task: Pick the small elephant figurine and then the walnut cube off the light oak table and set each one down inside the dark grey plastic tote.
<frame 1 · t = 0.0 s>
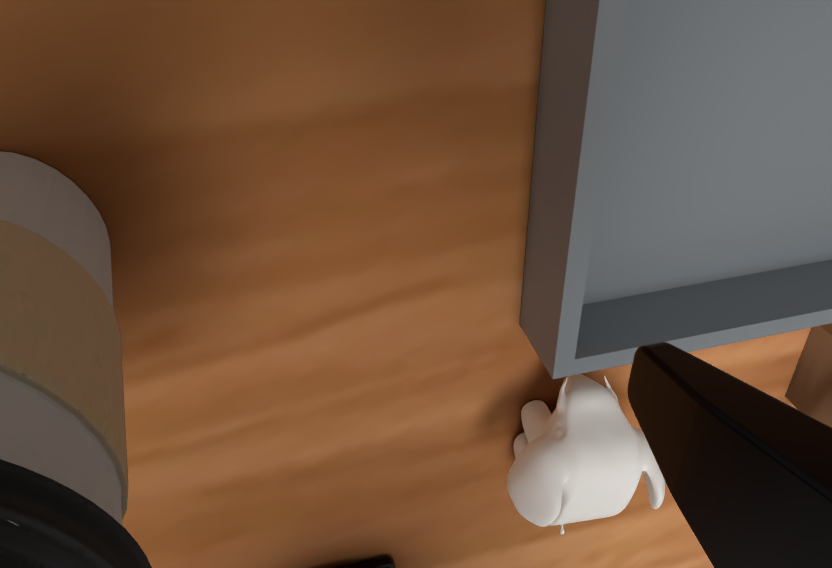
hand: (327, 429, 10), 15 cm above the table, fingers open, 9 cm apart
coffee cup: (11, 233, 22), on the table
elephant figurine: (546, 409, 34), on the table
tote: (796, 127, 27), on the table
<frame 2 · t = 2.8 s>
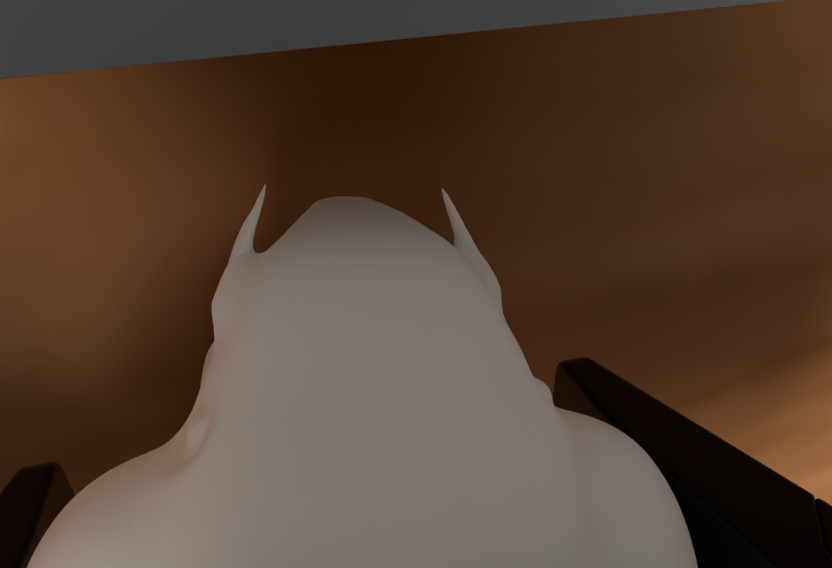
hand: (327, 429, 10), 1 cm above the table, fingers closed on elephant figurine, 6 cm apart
elephant figurine: (314, 360, 11), on the table, touching gripper
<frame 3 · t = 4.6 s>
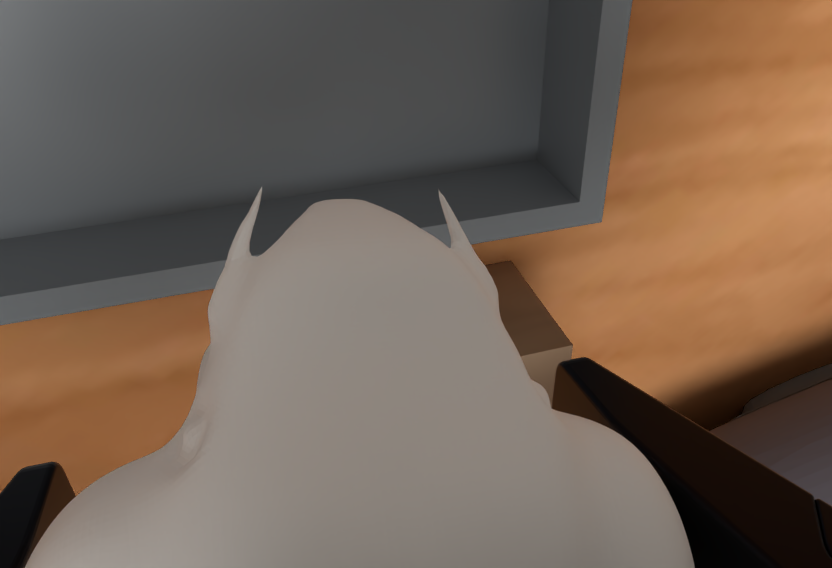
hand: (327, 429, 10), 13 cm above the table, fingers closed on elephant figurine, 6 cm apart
walnut cube: (443, 328, 26), on the table
elephant figurine: (311, 362, 11), point 11 cm above the table, touching gripper
bluetooth speaker: (831, 378, 35), on the table
when the fingers open (4 cm above the table, at t = 6.7 s): elephant figurine drops 2 cm, resting on tote.
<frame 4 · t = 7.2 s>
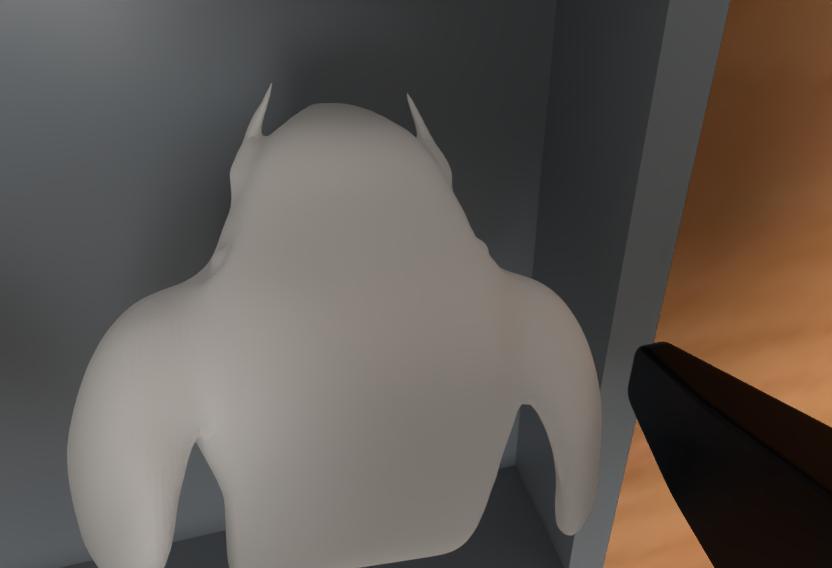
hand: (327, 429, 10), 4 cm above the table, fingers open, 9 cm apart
elephant figurine: (308, 264, 13), resting on tote
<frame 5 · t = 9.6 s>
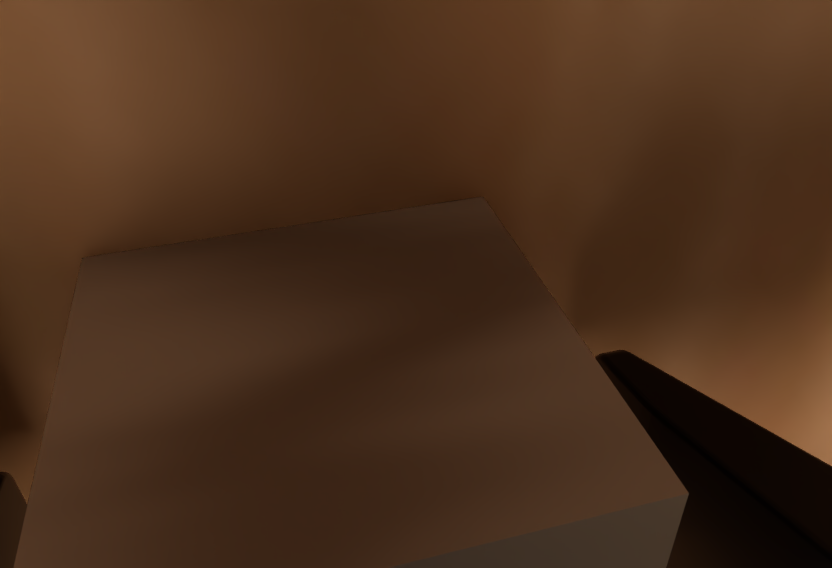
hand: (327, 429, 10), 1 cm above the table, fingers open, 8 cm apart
walnut cube: (314, 369, 10), on the table
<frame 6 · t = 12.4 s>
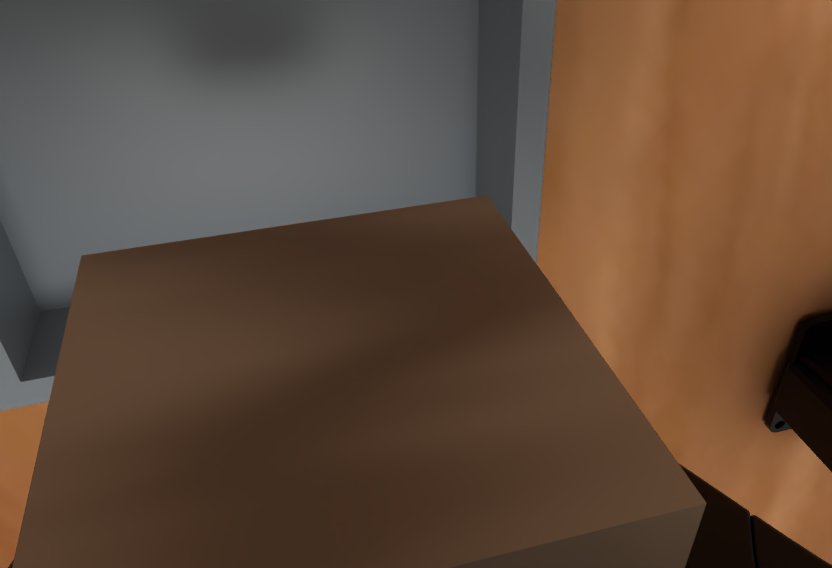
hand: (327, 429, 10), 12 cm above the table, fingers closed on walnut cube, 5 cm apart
walnut cube: (316, 373, 10), point 11 cm above the table, touching gripper
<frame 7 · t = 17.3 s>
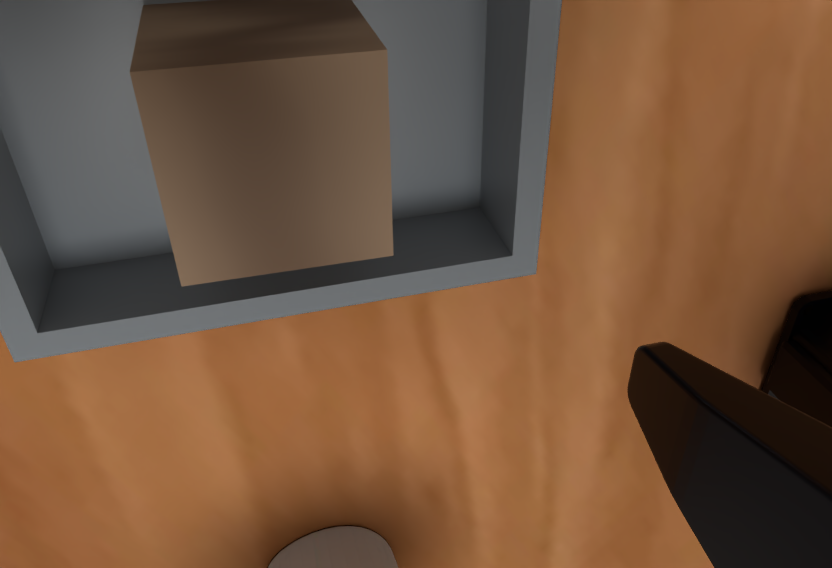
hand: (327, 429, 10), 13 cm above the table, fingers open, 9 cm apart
coffee cup: (328, 562, 33), on the table
walnut cube: (260, 94, 19), resting on tote
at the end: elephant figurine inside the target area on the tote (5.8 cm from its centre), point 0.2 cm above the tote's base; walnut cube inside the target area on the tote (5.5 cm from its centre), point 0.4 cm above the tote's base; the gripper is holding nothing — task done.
